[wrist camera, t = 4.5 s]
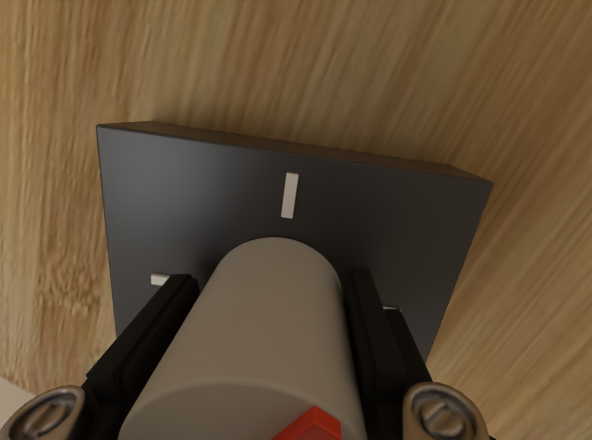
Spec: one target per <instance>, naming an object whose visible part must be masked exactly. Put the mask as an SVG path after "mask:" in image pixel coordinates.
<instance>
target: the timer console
mask: <svg viewBox="0 0 592 440" xmlns="http://www.w3.org/2000/svg"><path fill="white" fill-rule="evenodd" d="M96 135H97V145H98V155H99V166H100V176H101V186H102V196H103V207H104V217H105V227H106V237H107V248H108V258H109V268H110V278H111V289H112V299H113V309H114V319H115V329H116V339H117V338H118V337H119V336H120V334H121V333H122V332H123V331H124V330H125V328H126V327H127V326H128V325H129V324H130V323H131V321H132V320H133V319H134V318H135V317H136V316H137V314H138V313H139V312H140V311H141V310H142V309H143V307H144V306H145V305H146V304H147V303H148V301H149V300H150V299H151V298H152V297H153V296H154V294H155V293H156V292H157V291H158V290H159V289H160V287H161V286H162V285H163V284H164V283H165V282H166V280H167V279H168V278H169V277H170V276H171V275H172V274H191V275H192V277H193V278H197V280H198V284H199V288H200V293H201V292H202V291H203V289H204V287H205V286H206V284H207V282H208V281H209V279H210V278H211V276H212V274H213V273H214V271H215V269H216V268H217V266H218V264H219V263H220V262H221V260H222V259H223V258H224V257H225V256H226V255H227V254H228V253H229V252H230V251H232V250H233V249H234V248H236V247H238V246H239V245H241V244H243V243H246V242H248V241H251V240H255V239H259V238H267V237H279V238H287V239H291V240H295V241H298V242H301V243H303V244H305V245H307V246H309V247H311V248H313V249H314V250H316V251H317V252H319V253H320V254H321V255H322V256H323V257H324V258H326V259H327V261H328V262H329V263H330V264H331V265H332V267H333V268H334V270H335V272H336V273H337V276H338V278H339V280H340V284H341V288H342V294H343V300H344V273H350V269H351V268H366V267H368V268H369V270H370V273H371V275H372V278H373V281H374V284H375V286H376V289H377V292H378V294H379V297H380V300H381V302H382V305H383V308H384V309H400V311H401V312H402V314H403V317H404V319H405V321H406V323H407V325H408V328H409V330H410V332H411V334H412V336H413V339H414V341H415V343H416V345H417V348H418V350H419V352H420V354H421V356H422V359H423V361H424V363H426V361H427V358H428V355H429V353H430V350H431V348H432V345H433V342H434V340H435V337H436V335H437V332H438V329H439V327H440V324H441V321H442V319H443V316H444V314H445V311H446V308H447V306H448V303H449V300H450V298H451V295H452V293H453V290H454V287H455V285H456V282H457V280H458V277H459V274H460V272H461V269H462V266H463V264H464V261H465V259H466V256H467V253H468V251H469V248H470V245H471V243H472V240H473V238H474V235H475V232H476V230H477V227H478V225H479V222H480V219H481V217H482V214H483V211H484V209H485V206H486V204H487V201H488V198H489V196H490V193H491V190H492V188H493V184H494V183H493V182H491V181H489V180H487V179H484V178H481V177H479V176H476V175H474V174H471V173H468V172H466V171H463V170H461V169H458V168H456V167H453V166H450V165H445V164H438V163H431V162H424V161H418V160H411V159H404V158H397V157H390V156H383V155H376V154H370V153H363V152H356V151H349V150H342V149H335V148H329V147H322V146H315V145H308V144H301V143H294V142H287V141H281V140H274V139H267V138H260V137H253V136H246V135H240V134H233V133H226V132H219V131H212V130H205V129H198V128H192V127H185V126H178V125H171V124H164V123H157V122H151V121H142V122H125V123H109V124H98V125H96Z"/></svg>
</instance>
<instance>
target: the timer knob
mask: <svg viewBox="0 0 592 440" xmlns="http://www.w3.org/2000/svg"><path fill="white" fill-rule="evenodd" d="M118 440H368V437H367V431H366V425H365V420H364V414H363V408H362V403H361V397H360V391H359V385H358V380H357V374H356V368H355V362H354V357H353V351H352V345H351V340H350V334H349V328H348V322H347V317H346V311H345V305H344V300H343V294H342V288H341V284H340V280H339V278H338V276H337V273H336V272H335V270H334V268H333V267H332V265H331V264H330V263H329V262H328V261H327V259H326V258H324V257H323V256H322V255H321V254H320V253H319V252H317V251H316V250H314V249H313V248H311V247H309V246H307V245H305V244H303V243H301V242H298V241H295V240H291V239H287V238H279V237H267V238H259V239H255V240H251V241H248V242H246V243H243V244H241V245H239V246H238V247H236V248H234V249H233V250H232V251H230V252H229V253H228V254H227V255H226V256H225V257H224V258H223V259H222V260H221V262H220V263H219V264H218V266H217V268H216V269H215V271H214V273H213V274H212V276H211V278H210V279H209V281H208V282H207V284H206V286H205V287H204V289H203V291H202V292H201V294H200V296H199V297H198V299H197V301H196V302H195V304H194V306H193V307H192V309H191V311H190V312H189V314H188V316H187V317H186V319H185V321H184V322H183V324H182V326H181V327H180V329H179V331H178V332H177V334H176V336H175V337H174V339H173V341H172V342H171V344H170V346H169V347H168V349H167V351H166V352H165V354H164V356H163V357H162V359H161V361H160V362H159V364H158V365H157V367H156V369H155V370H154V372H153V374H152V375H151V377H150V379H149V380H148V382H147V384H146V385H145V387H144V389H143V390H142V392H141V394H140V395H139V397H138V399H137V400H136V402H135V404H134V405H133V407H132V409H131V410H130V412H129V414H128V415H127V417H126V419H125V421H124V423H123V425H122V427H121V429H120V433H119V437H118Z"/></svg>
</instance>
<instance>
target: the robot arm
mask: <svg viewBox="0 0 592 440" xmlns="http://www.w3.org/2000/svg"><path fill="white" fill-rule="evenodd" d="M200 294H201V293H200V288H199V284H198V280H197V278H193V277H192V275H191V274H172V275H171V276H170V277H169V278H168V279H167V280H166V282H165V283H164V284H163V285H162V286H161V287H160V289H159V290H158V291H157V292H156V293H155V294H154V296H153V297H152V298H151V299H150V300H149V301H148V303H147V304H146V305H145V306H144V307H143V309H142V310H141V311H140V312H139V313H138V314H137V316H136V317H135V318H134V319H133V320H132V321H131V323H130V324H129V325H128V326H127V327H126V328H125V330H124V331H123V332H122V333H121V334H120V336H119V337H118V338H117V339H116V340H115V341H114V343H113V344H112V345H111V346H110V347H109V348H108V350H107V351H106V352H105V353H104V354H103V355H102V357H101V358H100V359H99V360H98V361H97V363H96V364H95V365H94V366H93V367H92V368H91V370H90V371H89V372H88V373H87V374H86V376H87V378H88V379H87V380H86V381H85V382H84V384H83V385H82V386H81V387H79V386H75V385H65V386H60V387H57V388H53V389H50V390H48V391H46V392H44V393H42V394H40V395H38V396H36V397H35V398H33V399H32V400H30V401H29V402H27V403H25V404H24V405H23V406H22V407H21V408H19V409H18V410H17V411H16V412H15V413H14V414H13V415H12V416H11V417H10V418H9V420H8V421H7V422H6V423H5V424H4V425H3V427H2V428H1V430H0V440H118V437H119V433H120V429H121V427H122V425H123V423H124V421H125V419H126V417H127V415H128V414H129V412H130V410H131V409H132V407H133V405H134V404H135V402H136V400H137V399H138V397H139V395H140V394H141V392H142V390H143V389H144V387H145V385H146V384H147V382H148V380H149V379H150V377H151V375H152V374H153V372H154V370H155V369H156V367H157V365H158V364H159V362H160V361H161V359H162V357H163V356H164V354H165V352H166V351H167V349H168V347H169V346H170V344H171V342H172V341H173V339H174V337H175V336H176V334H177V332H178V331H179V329H180V327H181V326H182V324H183V322H184V321H185V319H186V317H187V316H188V314H189V312H190V311H191V309H192V307H193V306H194V304H195V302H196V301H197V299H198V297H199V296H200ZM344 305H345V311H346V317H347V322H348V328H349V334H350V340H351V345H352V351H353V357H354V362H355V368H356V374H357V380H358V385H359V391H360V397H361V403H362V408H363V414H364V420H365V425H366V431H367V437H368V440H496V439H494V438H493V437H491V436H490V435H489V434H488V430H487V427H486V423H485V421H484V419H483V416H482V414H481V412H480V411H479V409H478V408H477V407H476V406H475V404H474V403H473V402H472V401H471V400H470V399H469V398H468V397H466V396H465V395H464V394H463V393H461V392H460V391H458V390H456V389H454V388H452V387H451V386H448V385H445V384H442V383H438V382H433V381H432V379H431V376H430V374H429V372H428V370H427V367H426V365H425V363H424V361H423V359H422V356H421V354H420V352H419V350H418V348H417V345H416V343H415V341H414V339H413V336H412V334H411V332H410V330H409V328H408V325H407V323H406V321H405V319H404V317H403V314H402V312H401V311H400V309H384V308H383V305H382V302H381V300H380V297H379V294H378V292H377V289H376V286H375V284H374V281H373V278H372V275H371V273H370V270H369V268H368V267H366V268H351V269H350V273H344Z"/></svg>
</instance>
